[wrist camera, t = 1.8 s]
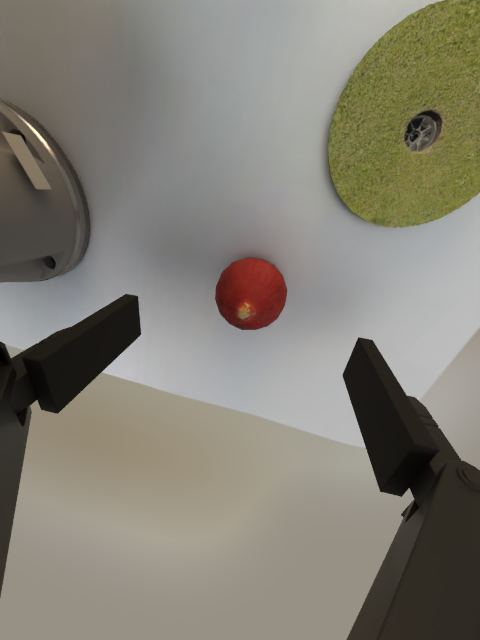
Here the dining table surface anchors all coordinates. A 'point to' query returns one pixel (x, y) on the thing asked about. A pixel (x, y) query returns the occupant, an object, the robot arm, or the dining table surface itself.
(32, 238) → the robot arm
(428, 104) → the mat
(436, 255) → the dining table surface
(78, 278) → the dining table surface
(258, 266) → the onion
